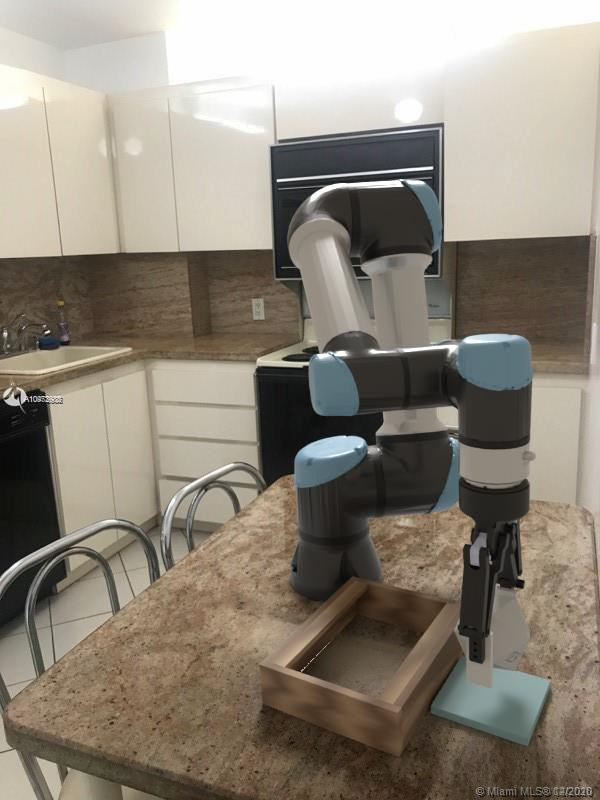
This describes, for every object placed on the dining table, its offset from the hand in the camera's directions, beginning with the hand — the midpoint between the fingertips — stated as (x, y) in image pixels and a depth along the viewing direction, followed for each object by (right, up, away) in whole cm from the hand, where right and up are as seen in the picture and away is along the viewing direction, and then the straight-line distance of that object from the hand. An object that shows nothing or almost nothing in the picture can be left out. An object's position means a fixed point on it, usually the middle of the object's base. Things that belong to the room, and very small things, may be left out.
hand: (492, 658), depth 77 cm
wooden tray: (-13, -5, +8) cm, 16 cm away
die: (0, 0, 0) cm, 0 cm away
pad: (0, -6, +1) cm, 6 cm away
